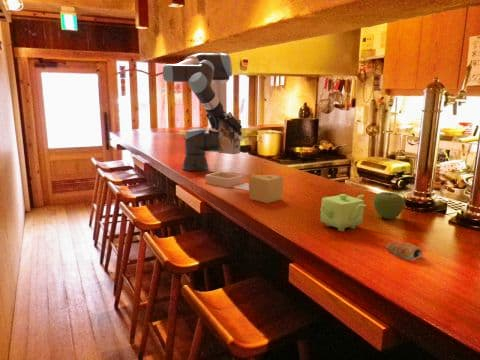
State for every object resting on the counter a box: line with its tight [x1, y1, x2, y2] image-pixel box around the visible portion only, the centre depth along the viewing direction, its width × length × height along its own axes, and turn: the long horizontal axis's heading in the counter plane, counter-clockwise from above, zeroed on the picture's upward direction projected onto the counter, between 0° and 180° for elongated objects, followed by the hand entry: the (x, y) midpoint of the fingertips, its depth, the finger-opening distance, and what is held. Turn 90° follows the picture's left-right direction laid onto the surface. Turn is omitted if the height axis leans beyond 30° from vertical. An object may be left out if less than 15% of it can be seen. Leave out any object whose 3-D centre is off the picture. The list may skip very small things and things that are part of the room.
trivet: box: [232, 182, 249, 192], centre depth 181 cm, size 11×11×1 cm
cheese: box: [248, 174, 284, 204], centre depth 161 cm, size 10×11×10 cm
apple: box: [372, 191, 407, 220], centre depth 139 cm, size 11×10×10 cm
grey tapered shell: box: [386, 241, 423, 262], centre depth 108 cm, size 9×7×4 cm
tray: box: [204, 171, 244, 188], centre depth 189 cm, size 12×15×4 cm
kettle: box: [319, 193, 367, 232], centre depth 129 cm, size 15×14×11 cm
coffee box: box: [217, 119, 242, 155], centre depth 182 cm, size 9×6×16 cm
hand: (233, 138), depth 184 cm, fingers closed on coffee box, 10 cm apart
